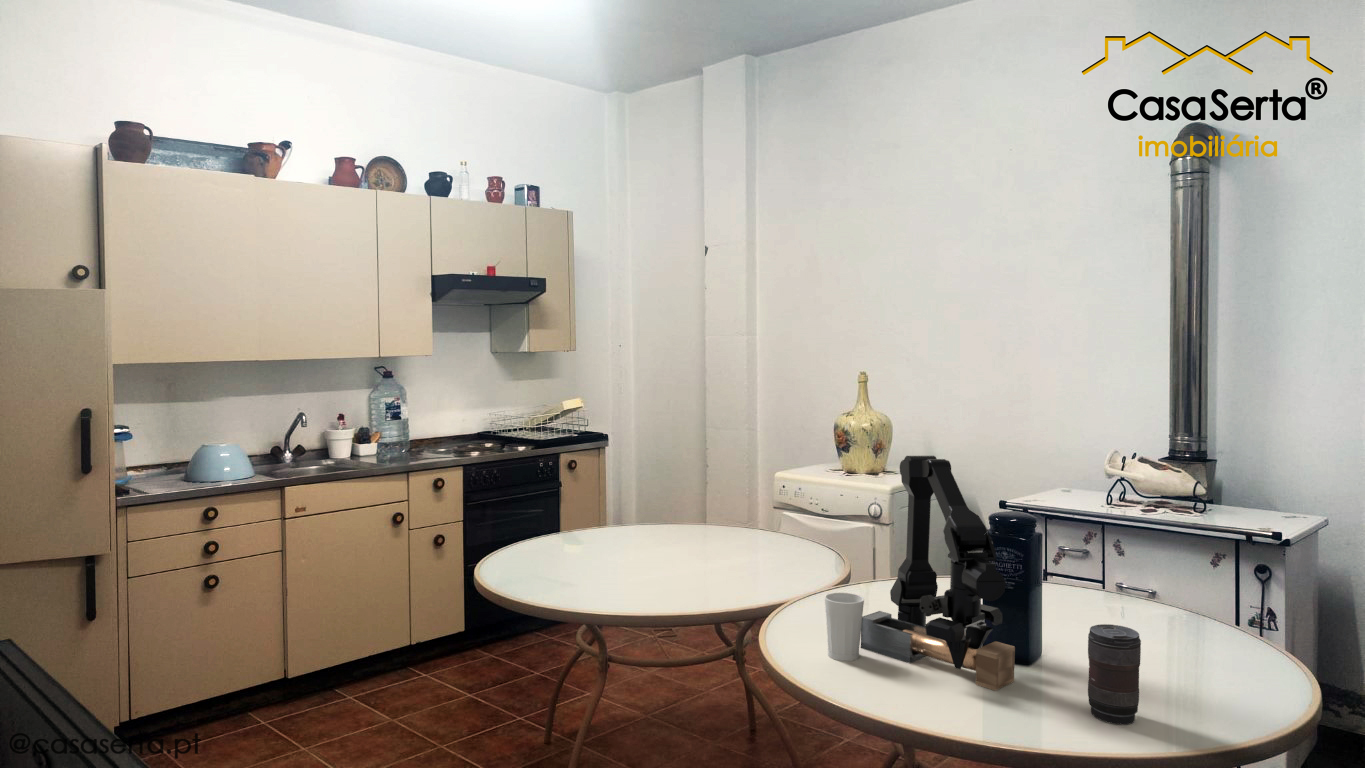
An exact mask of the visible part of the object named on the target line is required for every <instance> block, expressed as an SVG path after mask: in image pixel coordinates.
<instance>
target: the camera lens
mask: <svg viewBox="0 0 1365 768" xmlns="http://www.w3.org/2000/svg"><path fill="white" fill-rule="evenodd" d="M1087 637H1088V640H1087V656H1088V666H1089V667H1088V681H1087V696H1088V704H1089V706H1090V713H1091V715H1092V716H1093V717H1094V718H1096V719H1098V720H1100V721H1102V722H1105V723H1109V724H1113V725H1121V724H1124V725H1130V724H1129V723H1131V724H1133V723H1134V722H1135V721H1136V718H1135V717H1136V714H1137V713H1138V710H1139V702H1140V666H1141V653H1142V652H1141V651H1142V647H1141V645H1142V640H1141V638H1140V633H1139V632H1138V631H1137V630H1135V629H1133V628H1130V627H1127V626H1123V625H1118V624H1117V625H1116V624H1109V623H1108V624H1107V623H1103V624H1095V625H1092V626H1090V627H1089V633H1088V636H1087ZM1133 721H1134V722H1133ZM1132 722H1133V723H1132Z"/></svg>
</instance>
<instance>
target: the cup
mask: <svg viewBox="0 0 1365 768" xmlns="http://www.w3.org/2000/svg"><path fill="white" fill-rule="evenodd" d="M864 604H865V597H863V596H861V595H859V594H856V593H852V592H830V593H827V594H825V595H824V606H825V607H824V608H825V618H826V635H827V657H829V658H830V659H832V660H835V661H840V662H852V661H856V660H858V659H859V658H860V647H861V624H862V616H864V615H863V614H864Z"/></svg>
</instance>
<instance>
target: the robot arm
mask: <svg viewBox="0 0 1365 768" xmlns="http://www.w3.org/2000/svg"><path fill="white" fill-rule="evenodd" d="M899 463H900V464H899V473H900V476H901V483H902V485H903V487H904V489H905V491H906V492H907V494H908V499H907V501H908V502H907V525H906V526H907V527H906V554H905V556H906V557H905V559H904V561H902V564H901V565H900V566H899V568H898V570H897V579H896V580H895V582H894V583H893V585H892V587H891V588H890V592H889V594H890V601H891V602H892V603H894V604H895V605H896V606H897V609H898V611H897V619H898V620H901V621H905V622H909V623H912V624H916V625H920V626H923V627H926V635H928V636H931V637H935V638H938V639H942V640H945V641H946V642H947V645H948V647H949V650H950V653H951V657H952V660H953V663H954V664H953V666H954V668H955V669H957V670H961V668H963V667H962V664H963V662H964V658H965V655H966V652H967V649H968V647H971V648H974V649H978V648H981V647H983V646H984V643H985V642H986V641H987V638H988V637H989V635H990V633H991V632H992V631H993V627H990V626H987V623H986V622H985V620H987V621H990V623H991V624H992V625H993V626H998V625H1001V624H1003V612H1002V611H1001V610H1000V608H999V607H994V606H990V605H986V604H982V599H983V601H987V602H993V601H997V600H998V599H1000V598H1001V597H1002V596H1003V594H1004V593H1005V591H1006V588H1007V587H1006V586H1007V584H1006V580H1005V578H1004V576H1003V574H1002V573H1001V572H999V571H997V570H996V569H997V567H996V563H995V562H997V556H996V554H997V550H996V548H995V545H994V543H993V540H992V537H991V535H990V532H989V530H988V528H987V526H986V525H985V523H984V522H983V520H982V518H981V516H979V515H978V514H976V513H975V512H974V511H972V510H971V509H970V508H969V507H968V505H967V503H966V500H965V499H964V497H963V493H962V492H961V489H960V487H959V486H958V483H957V481H956V478H955V476H954V475H953V472H952V465H951V461H949V460H947V459H945V458H938V459H937V457H936V456H935V455H906V456H904V459H902V460H901V461H900V462H899ZM933 495H934V496H935V498H936V501H937V503H938V506H939V508H940V510H941V513H942V515H943V517H944V520H945V524H944V528H943V531H942V532H943V535H944V541H945V545H946V547H947V549H948V551H949V553H947V557H948V558H949V559H950V580H949V581H950V582H949V583H950V585H949V588H948V589H946V590H945V591H944V594H943V595H938V596H937V594H938V589H939V588H938V587H939V585H938V582H937V577H938V575H937V572H936V571H935V570H934V569H933V567H932V565H931V564H930V562H929V561H930V560H929V558H930V557H929V553H930V534H931V533H930V532H931V527H930V526H931V503H932V497H933ZM987 531H988V533H986V532H987ZM985 533H986V534H985ZM984 534H985V535H984ZM940 614H941V615H942V617H936V618H933V619H931V620H929V621H928V622H927V617H931V616H932V615H933V616H934V615H940ZM946 618H947V619H946ZM948 618H950V619H948Z"/></svg>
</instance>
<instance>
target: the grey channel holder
mask: <svg viewBox="0 0 1365 768" xmlns="http://www.w3.org/2000/svg"><path fill="white" fill-rule="evenodd" d="M905 629H907V630H910V631H914V632H917V633H921V634H924V635H926V627H923V626H920V625H916V624H912V623H909V622H905V621H901V620H898V618H893V617H892V613H889V612H885V611H883V610H878V611H875V612H873V613H872V612H871V613H869V614H866V615H862V624H861V635H860V648H861V649H863V650H867V651H868V652H869V651H870V652H873V653H876V654H878V655H882V656H886V657H888V658H892V659H895V660H898V661H901V662H904V663H908V664H911V663H914V662H916V661H919V660H921V659H924V658H926V657H927V656H924V655H921V654H918V653H914V652H912V639H913V634H911V633H908V632H904V631H903V630H905Z"/></svg>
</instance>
